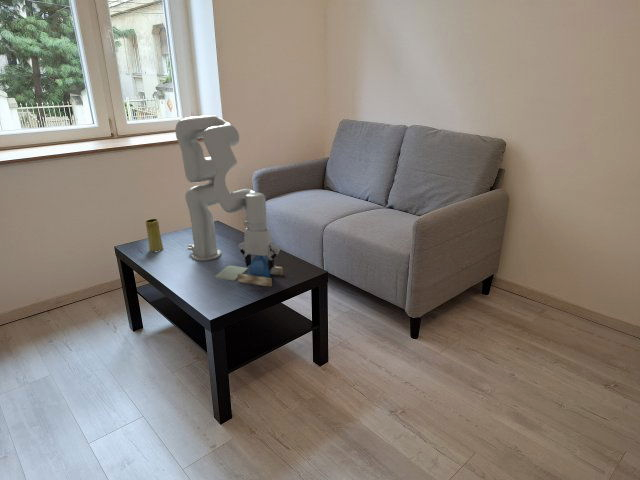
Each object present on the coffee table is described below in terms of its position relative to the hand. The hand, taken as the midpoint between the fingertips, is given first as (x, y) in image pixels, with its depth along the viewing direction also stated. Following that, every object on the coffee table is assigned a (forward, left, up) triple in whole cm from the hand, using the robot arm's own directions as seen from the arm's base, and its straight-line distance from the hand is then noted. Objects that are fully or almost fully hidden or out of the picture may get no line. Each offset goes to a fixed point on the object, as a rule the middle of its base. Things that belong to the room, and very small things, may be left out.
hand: (259, 266), depth 173 cm
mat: (-13, 0, -5) cm, 14 cm away
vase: (-59, +12, -5) cm, 60 cm away
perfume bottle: (0, 0, -5) cm, 5 cm away
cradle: (0, 0, -5) cm, 5 cm away
